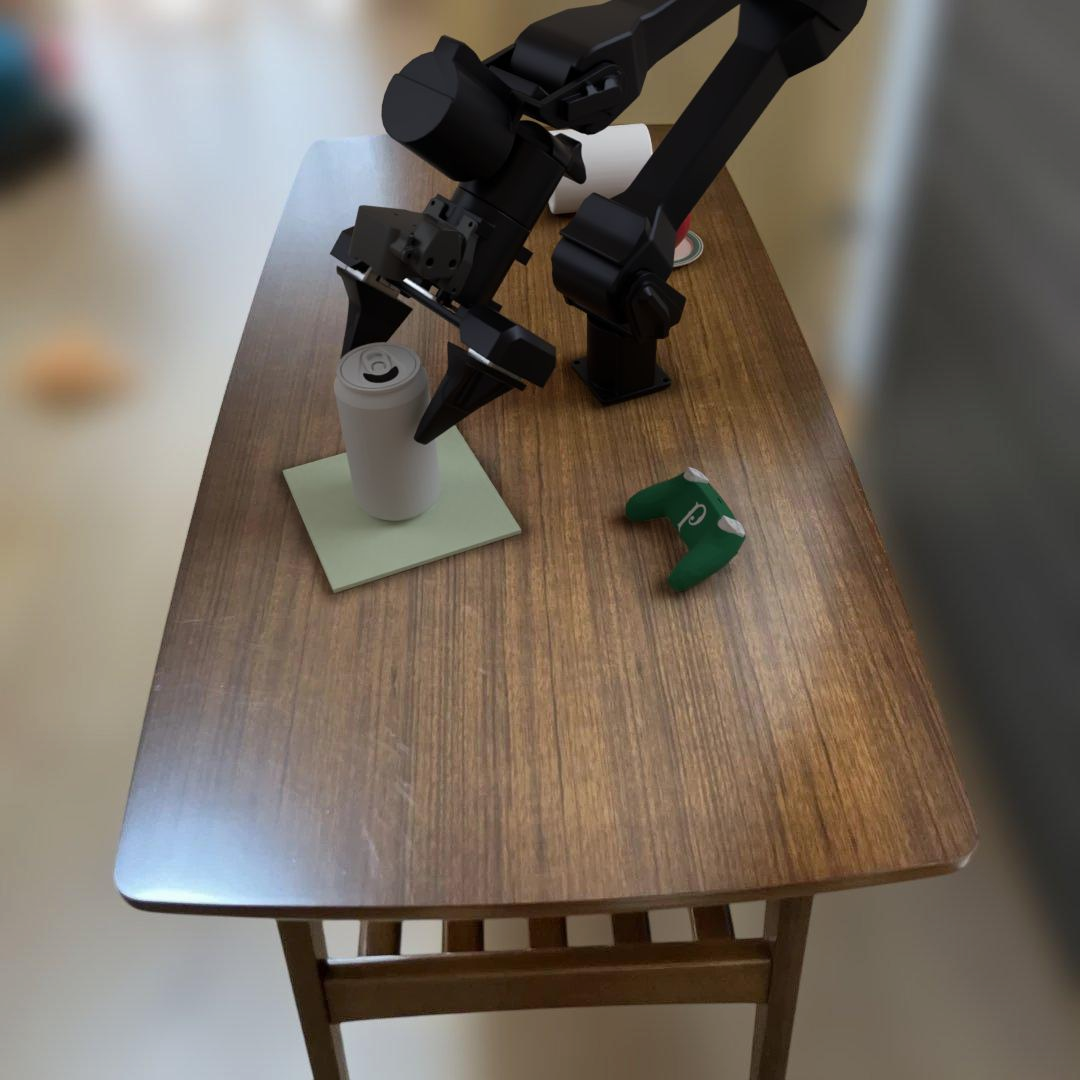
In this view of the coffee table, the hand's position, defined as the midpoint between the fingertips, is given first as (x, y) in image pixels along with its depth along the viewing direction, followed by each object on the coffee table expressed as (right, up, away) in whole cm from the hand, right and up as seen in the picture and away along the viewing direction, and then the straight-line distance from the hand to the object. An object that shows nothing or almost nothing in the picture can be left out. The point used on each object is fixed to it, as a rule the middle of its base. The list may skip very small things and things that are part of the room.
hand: (379, 411), depth 77 cm
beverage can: (+1, -6, +6) cm, 8 cm away
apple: (+23, +19, +32) cm, 44 cm away
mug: (+17, +27, +40) cm, 51 cm away
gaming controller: (+21, -9, +2) cm, 23 cm away
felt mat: (+1, -6, +6) cm, 9 cm away
